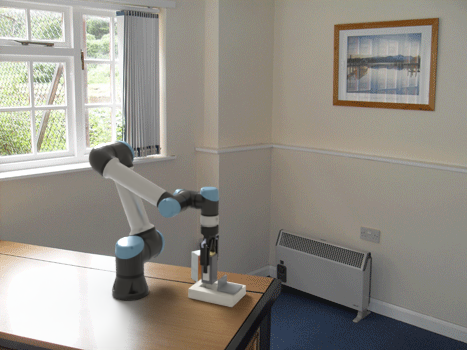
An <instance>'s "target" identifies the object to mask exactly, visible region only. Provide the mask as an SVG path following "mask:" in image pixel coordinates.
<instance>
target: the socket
mask: <svg viewBox="0 0 467 350" xmlns="http://www.w3.org/2000/svg"><path fill="white" fill-rule="evenodd" d="M218 280H219V279H217V281H216V282H215V283H214V284H212V285H211V284H206V283H201V280H199V281H198V282H195V283H194V284H193V285H191V286H190V287H189V288H187V289H188V294H187V298H188V299H193V300H197V301H202V302H206V303H210V304H211V303H212V304H216V305H220V306H225V307H229V308H233V307H234V306H235V305H236V304H237V303H238V302H240V301H241V299H242V298H243V297H244V296H245V295H246V293H247V291H246V290H247V285H245V284H240V283H237V282H236V283H235V282H230V281H227V282H228V283H233V284H238V285H243V287H242V288H241V289H240V290H239V291H238V292H237V293H236V294H231V293H226V292H221V291H217V288H218Z"/></svg>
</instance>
